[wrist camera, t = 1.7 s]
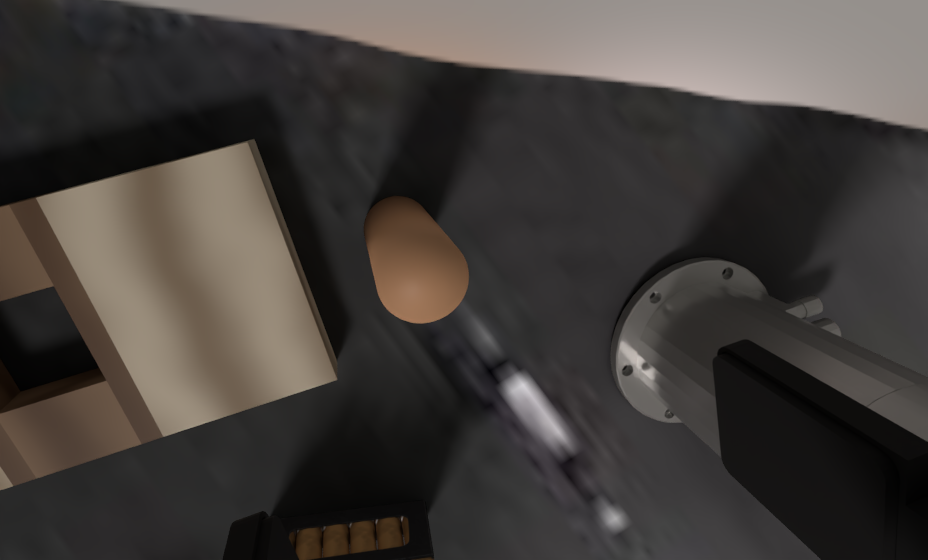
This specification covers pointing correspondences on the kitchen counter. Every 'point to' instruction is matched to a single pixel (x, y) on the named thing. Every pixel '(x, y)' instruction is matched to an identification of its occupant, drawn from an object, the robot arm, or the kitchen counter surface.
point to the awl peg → (413, 261)
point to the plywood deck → (158, 307)
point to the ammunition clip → (363, 533)
